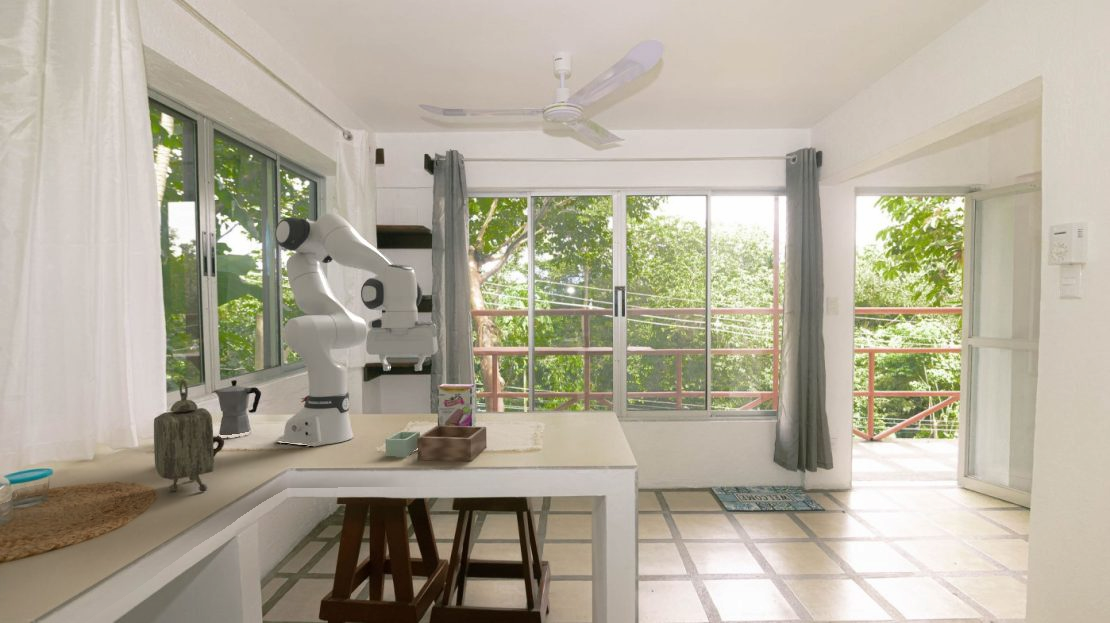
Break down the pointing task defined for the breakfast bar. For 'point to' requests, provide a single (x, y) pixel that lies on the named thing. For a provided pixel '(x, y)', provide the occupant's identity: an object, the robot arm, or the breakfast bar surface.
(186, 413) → the tabletop clock
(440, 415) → the candy bar box
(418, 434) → the sage crate
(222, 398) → the coffeepot
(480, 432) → the walnut crate
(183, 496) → the breakfast bar surface
